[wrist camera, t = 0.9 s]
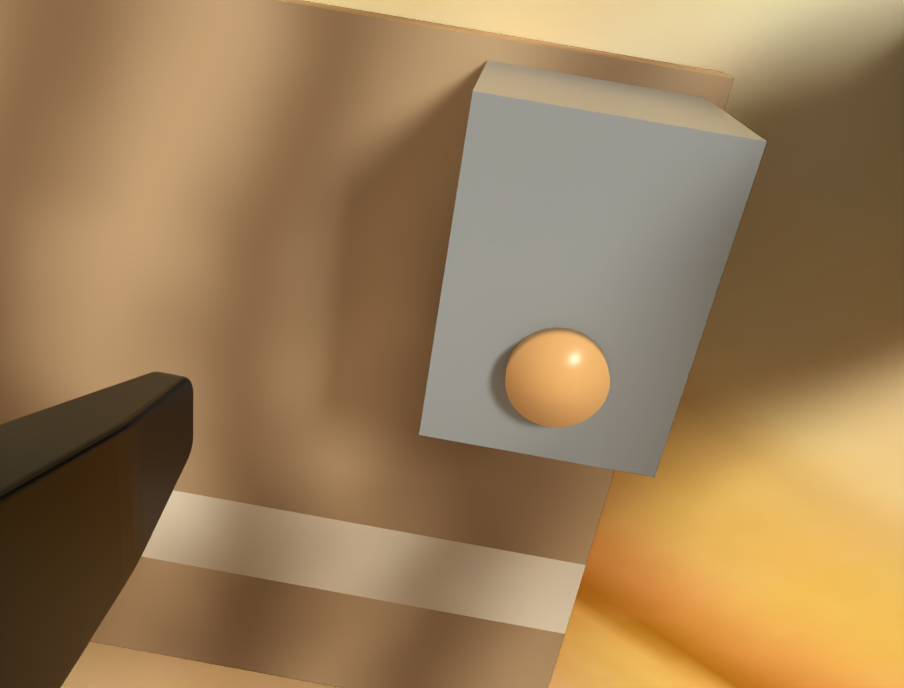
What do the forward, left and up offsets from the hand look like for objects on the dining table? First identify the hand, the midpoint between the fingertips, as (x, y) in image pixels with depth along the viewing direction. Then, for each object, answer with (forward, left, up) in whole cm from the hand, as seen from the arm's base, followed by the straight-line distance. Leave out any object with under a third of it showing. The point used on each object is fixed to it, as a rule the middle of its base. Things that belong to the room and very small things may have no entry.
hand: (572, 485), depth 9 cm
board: (+7, +7, -12) cm, 16 cm away
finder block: (0, 0, -11) cm, 11 cm away
